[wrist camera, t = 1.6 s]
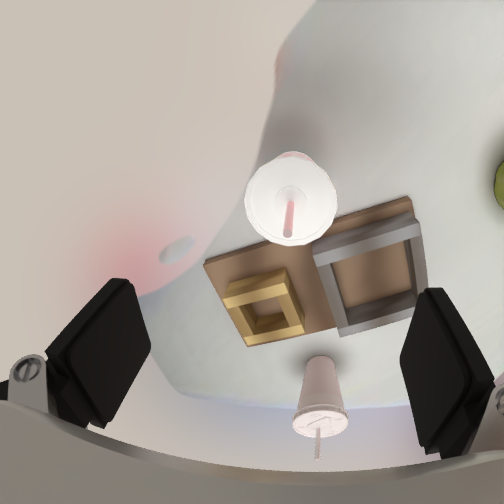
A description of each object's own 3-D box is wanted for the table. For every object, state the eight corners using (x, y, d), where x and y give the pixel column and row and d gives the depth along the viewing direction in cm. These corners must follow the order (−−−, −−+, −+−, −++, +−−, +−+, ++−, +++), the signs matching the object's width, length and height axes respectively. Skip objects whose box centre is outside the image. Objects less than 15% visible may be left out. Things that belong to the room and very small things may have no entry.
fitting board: (407, 196, 26) (422, 210, 23) (423, 293, 31) (434, 316, 27) (205, 260, 33) (193, 280, 29) (248, 340, 37) (243, 364, 33)
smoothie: (289, 374, 39) (280, 464, 27) (306, 343, 36) (302, 441, 24) (331, 383, 39) (333, 471, 27) (352, 354, 36) (361, 448, 24)
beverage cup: (338, 162, 26) (371, 210, 14) (307, 217, 29) (311, 302, 17) (277, 131, 26) (256, 150, 13) (250, 189, 29) (209, 255, 16)
